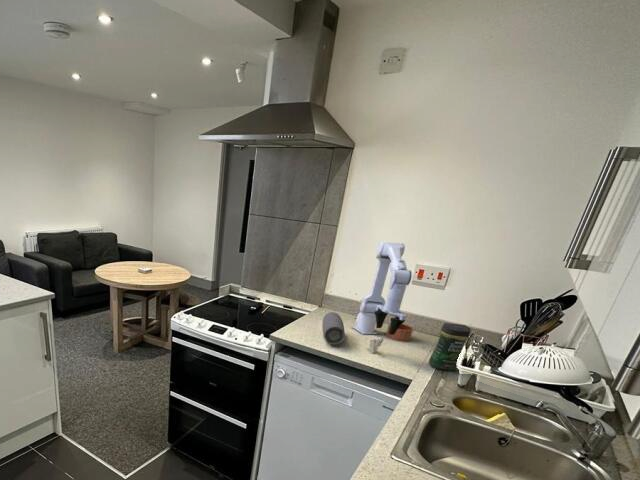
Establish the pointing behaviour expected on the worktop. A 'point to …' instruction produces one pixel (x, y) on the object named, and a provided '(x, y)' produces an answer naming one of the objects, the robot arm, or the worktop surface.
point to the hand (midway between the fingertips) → (385, 331)
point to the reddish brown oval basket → (401, 333)
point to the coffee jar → (449, 346)
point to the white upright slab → (375, 344)
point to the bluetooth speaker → (333, 328)
